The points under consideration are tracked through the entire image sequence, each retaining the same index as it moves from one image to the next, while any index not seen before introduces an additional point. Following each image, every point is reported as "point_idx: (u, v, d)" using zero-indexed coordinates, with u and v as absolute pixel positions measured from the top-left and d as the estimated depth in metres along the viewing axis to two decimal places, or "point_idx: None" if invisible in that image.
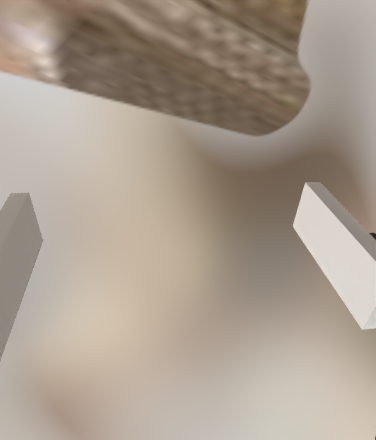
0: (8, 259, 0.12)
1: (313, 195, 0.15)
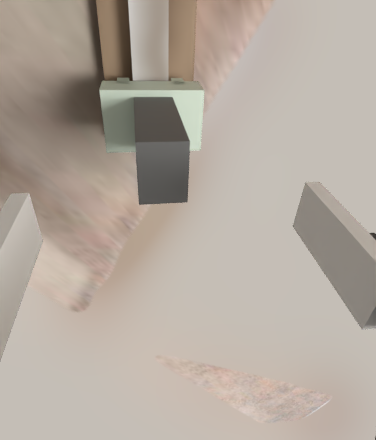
0: (8, 259, 0.12)
1: (313, 195, 0.15)
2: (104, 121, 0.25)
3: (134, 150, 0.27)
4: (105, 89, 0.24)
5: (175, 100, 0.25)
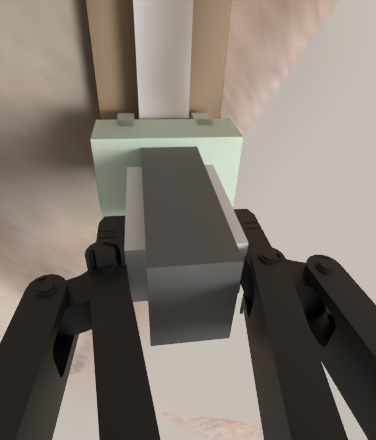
0: None
1: None
2: (98, 180, 0.17)
3: None
4: (99, 137, 0.16)
5: (201, 151, 0.17)
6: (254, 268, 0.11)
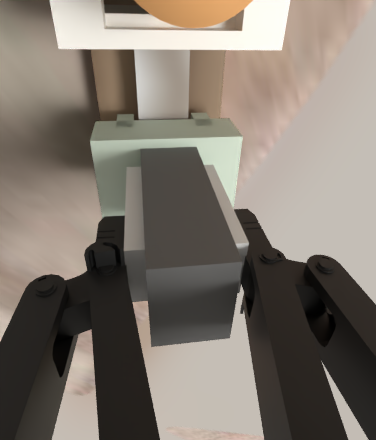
0: None
1: None
2: (98, 182, 0.18)
3: None
4: (99, 139, 0.16)
5: (200, 151, 0.17)
6: (254, 268, 0.11)
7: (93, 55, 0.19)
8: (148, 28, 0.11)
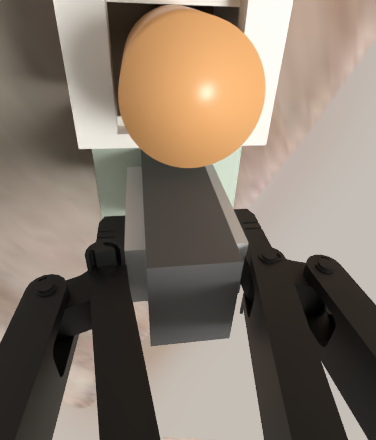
0: None
1: None
2: (98, 180, 0.17)
3: None
4: None
5: None
6: (254, 268, 0.11)
7: None
8: None
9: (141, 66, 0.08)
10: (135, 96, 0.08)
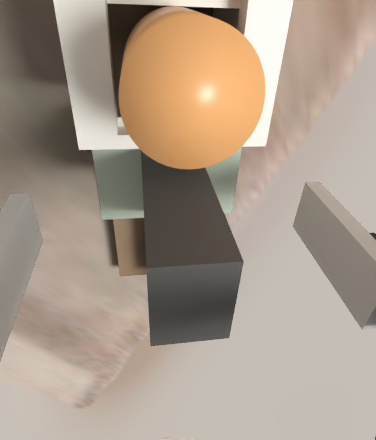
0: (8, 259, 0.12)
1: (313, 195, 0.15)
2: (98, 180, 0.17)
3: (141, 216, 0.19)
4: None
5: None
6: None
7: None
8: None
9: (142, 68, 0.08)
10: (136, 98, 0.08)
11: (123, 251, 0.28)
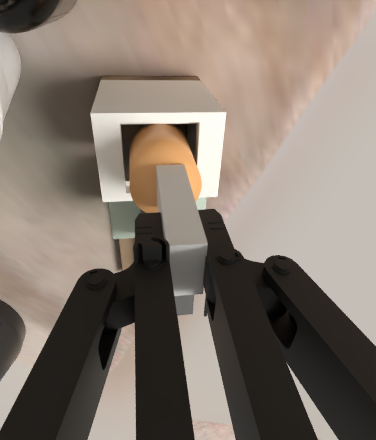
0: None
1: (171, 176, 0.16)
2: (111, 214, 0.26)
3: None
4: None
5: None
6: (213, 271, 0.11)
7: None
8: None
9: (141, 174, 0.17)
10: (138, 186, 0.17)
11: (126, 259, 0.36)
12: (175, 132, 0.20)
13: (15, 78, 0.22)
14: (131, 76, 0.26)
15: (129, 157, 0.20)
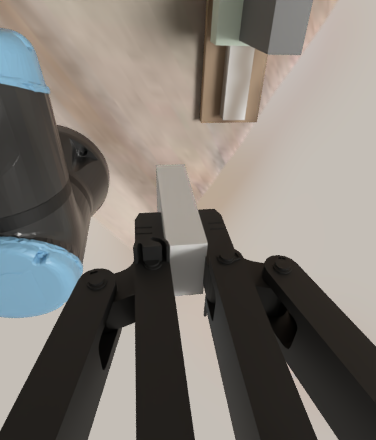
0: None
1: (172, 176, 0.16)
2: (219, 16, 0.33)
3: (236, 44, 0.34)
4: None
5: None
6: (213, 271, 0.11)
7: None
8: None
9: None
10: None
11: (206, 100, 0.43)
12: None
13: None
14: None
15: None
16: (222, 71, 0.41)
